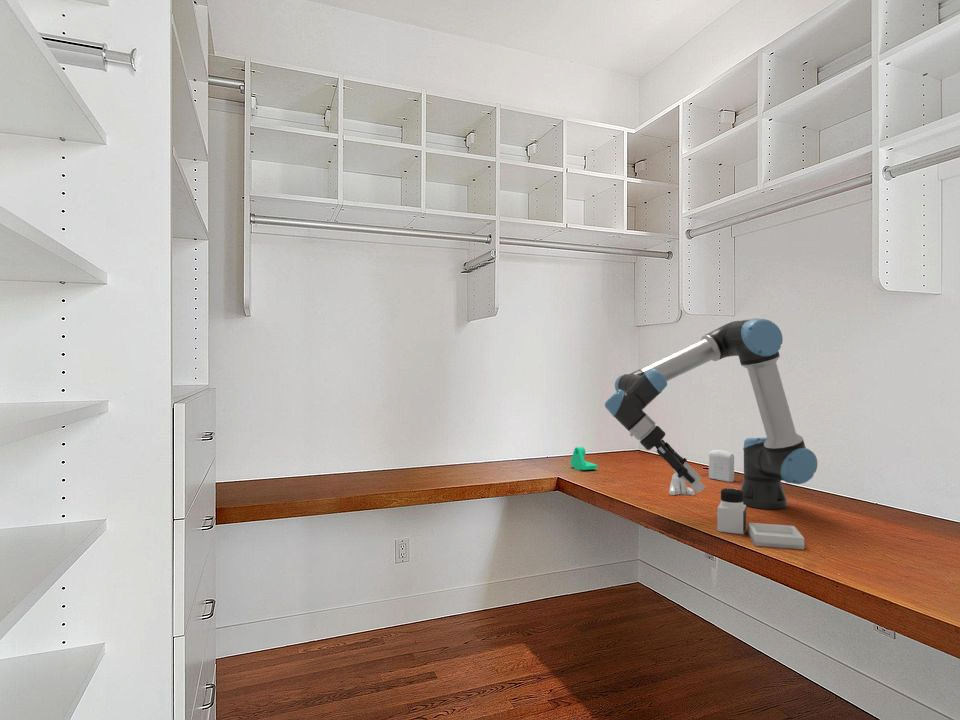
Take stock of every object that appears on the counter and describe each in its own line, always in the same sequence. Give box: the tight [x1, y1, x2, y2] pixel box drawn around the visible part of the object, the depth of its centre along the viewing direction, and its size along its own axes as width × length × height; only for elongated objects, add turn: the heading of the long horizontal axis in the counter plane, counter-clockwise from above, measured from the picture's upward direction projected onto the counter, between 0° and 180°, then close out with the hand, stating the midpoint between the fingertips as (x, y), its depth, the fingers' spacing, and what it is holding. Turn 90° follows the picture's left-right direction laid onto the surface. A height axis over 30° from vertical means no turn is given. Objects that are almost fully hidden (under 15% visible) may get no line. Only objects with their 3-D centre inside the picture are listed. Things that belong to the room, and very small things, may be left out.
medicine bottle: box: [716, 487, 747, 535], centre depth 174 cm, size 7×7×12 cm
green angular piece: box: [569, 446, 598, 471], centre depth 271 cm, size 12×8×10 cm, turn 20°
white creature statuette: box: [668, 468, 696, 496], centre depth 221 cm, size 10×9×12 cm
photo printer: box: [708, 449, 735, 483], centre depth 245 cm, size 10×4×12 cm, turn 38°
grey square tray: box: [747, 522, 805, 550], centre depth 163 cm, size 12×12×3 cm
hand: (700, 485), depth 176 cm, fingers open, 13 cm apart
